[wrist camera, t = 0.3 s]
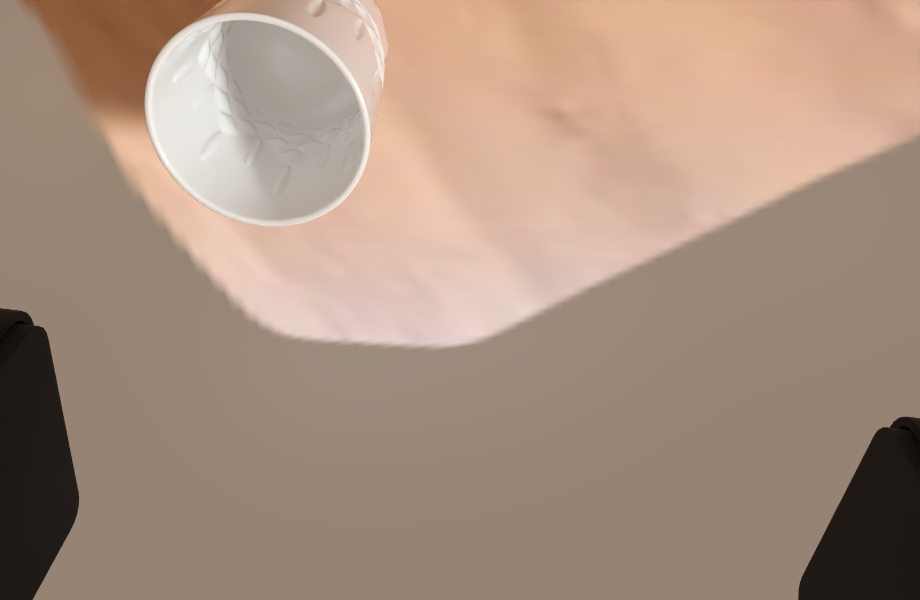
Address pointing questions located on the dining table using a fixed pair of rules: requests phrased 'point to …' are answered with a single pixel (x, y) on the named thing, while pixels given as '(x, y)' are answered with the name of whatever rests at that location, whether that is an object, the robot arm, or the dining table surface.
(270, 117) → the white cup
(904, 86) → the dining table surface
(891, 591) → the robot arm
